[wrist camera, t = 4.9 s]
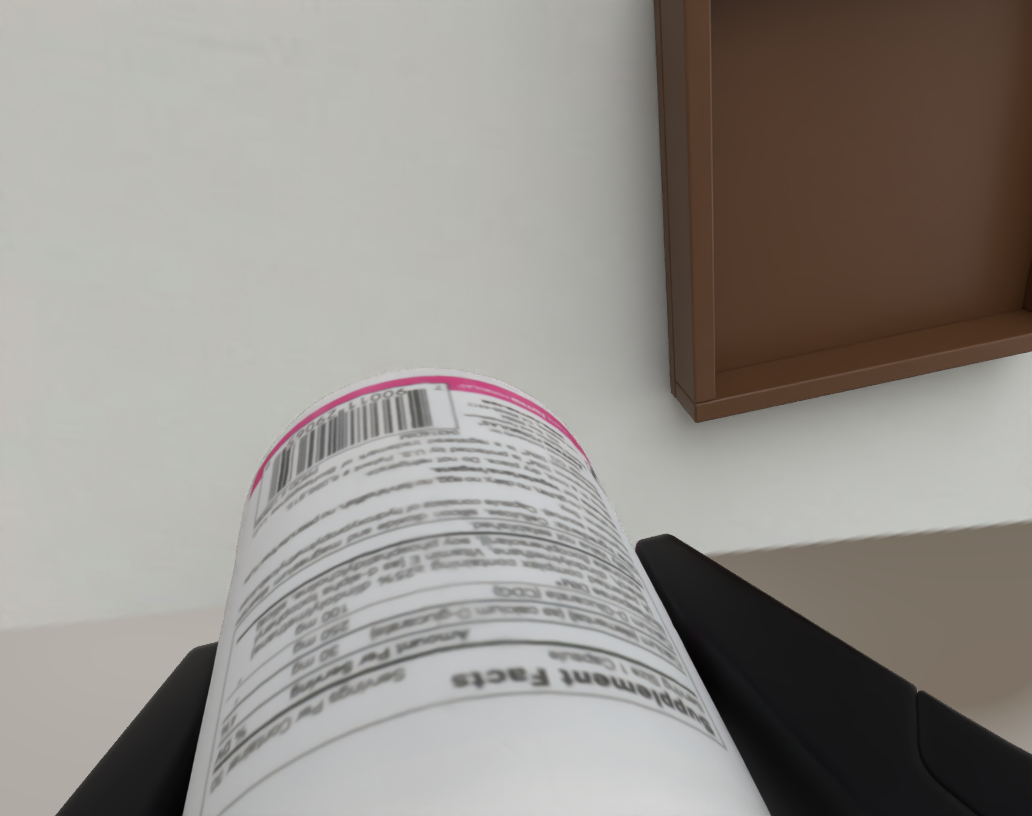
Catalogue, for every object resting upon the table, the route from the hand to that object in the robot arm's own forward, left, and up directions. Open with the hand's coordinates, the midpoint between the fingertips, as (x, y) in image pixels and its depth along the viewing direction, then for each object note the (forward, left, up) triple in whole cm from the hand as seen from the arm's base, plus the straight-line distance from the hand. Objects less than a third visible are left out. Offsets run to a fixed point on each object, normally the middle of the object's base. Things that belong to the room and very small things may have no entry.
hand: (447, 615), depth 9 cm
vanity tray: (+1, -12, -12) cm, 17 cm away
